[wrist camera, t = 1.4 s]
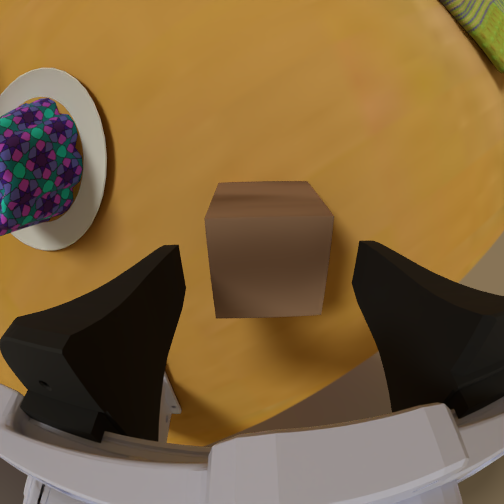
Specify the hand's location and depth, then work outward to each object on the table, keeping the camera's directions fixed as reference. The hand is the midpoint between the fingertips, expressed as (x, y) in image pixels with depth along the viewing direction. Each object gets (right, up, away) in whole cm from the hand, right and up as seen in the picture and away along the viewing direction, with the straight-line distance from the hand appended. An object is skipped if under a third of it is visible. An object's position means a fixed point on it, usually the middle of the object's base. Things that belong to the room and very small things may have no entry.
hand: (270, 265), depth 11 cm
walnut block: (0, +2, +4) cm, 5 cm away
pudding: (-14, +6, +2) cm, 16 cm away
